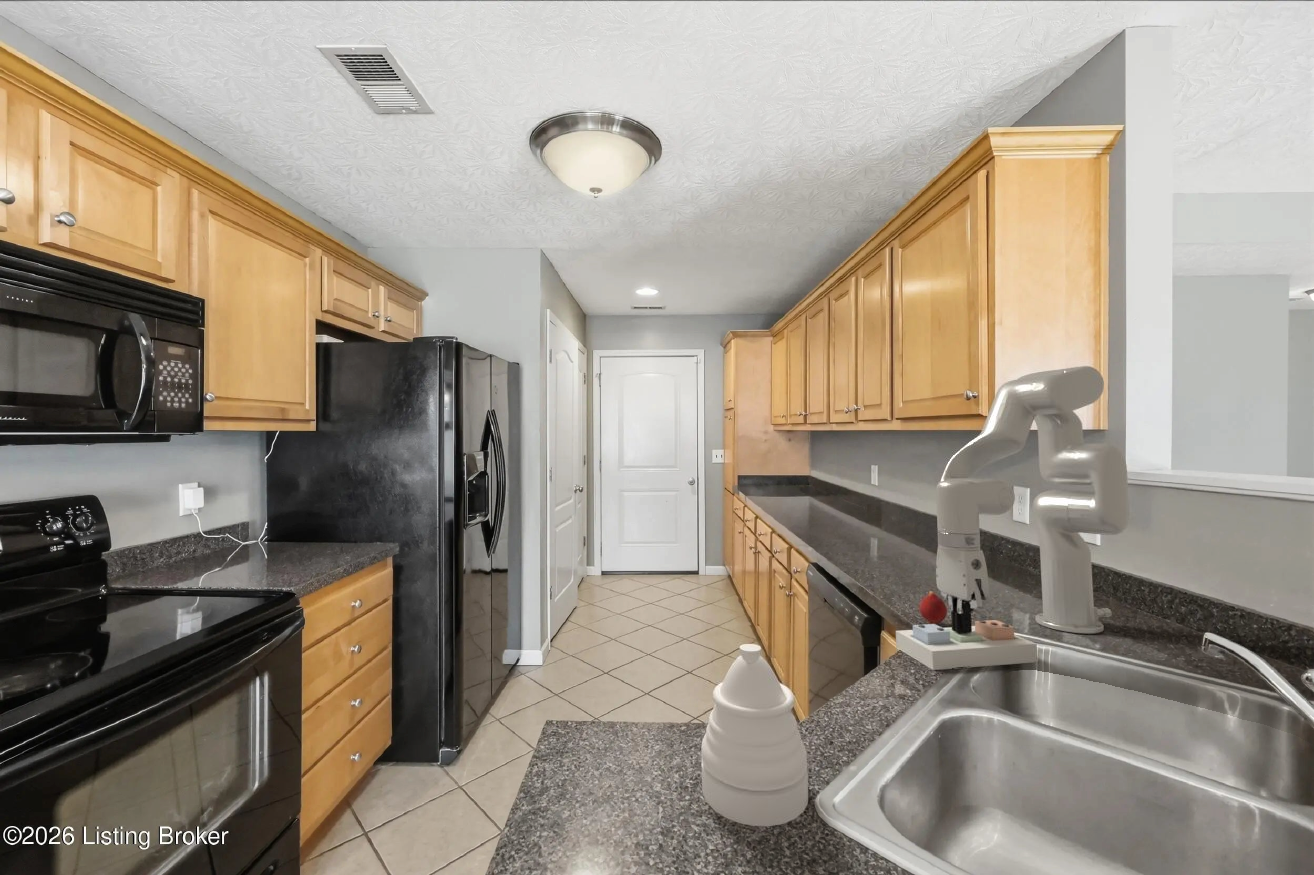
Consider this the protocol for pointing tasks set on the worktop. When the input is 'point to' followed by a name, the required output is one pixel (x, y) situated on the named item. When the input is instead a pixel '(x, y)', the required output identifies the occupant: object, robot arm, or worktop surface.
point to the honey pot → (754, 747)
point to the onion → (933, 609)
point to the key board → (967, 651)
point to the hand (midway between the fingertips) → (961, 631)
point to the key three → (994, 630)
